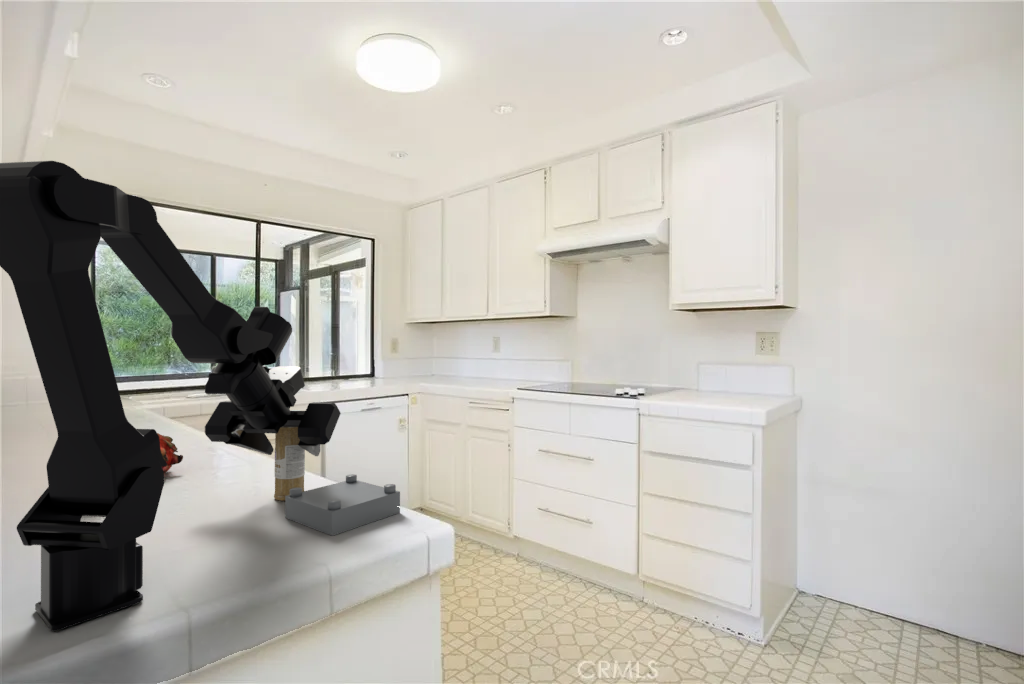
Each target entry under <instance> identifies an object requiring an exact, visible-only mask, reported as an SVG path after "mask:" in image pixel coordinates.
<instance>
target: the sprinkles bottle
mask: <svg viewBox="0 0 1024 684" xmlns="http://www.w3.org/2000/svg"><path fill="white" fill-rule="evenodd" d="M290 411H301V410H298V409H297V410H295V409H294V410H293V409H290ZM274 434H275V436H274V437H275V438H274V440H275V442H274V445H275V446H274V494H273V498H274V499H275V500H277V501H280V502H281V501H285V496H288V495H290V489H292V488H302V492H304V491H305V473H306V472H305V469H306V468H305V465H306V464H305V461H306V450H305V449H303V448H301V447H300V446H298V443H299V441H300V439H299V438H298V427H280V429H279V431H278V433H274Z"/></svg>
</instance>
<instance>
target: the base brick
mask: <svg viewBox="0 0 1024 684" xmlns="http://www.w3.org/2000/svg"><path fill="white" fill-rule="evenodd" d="M357 477H358V476H357V474H351V473H350V474H347V475H345V480H344V481H340V482H335V483H331V484H328V485H325V486H321V487H316V488H311V489H308V490H304V492H302V488H292V489H290V495H288V496H285V502H284V512H285V513H284V514H285V516H284V518H285V519H288V520H290V521H292V522H295V523H298V524H301V525H303V526H306V527H309V528H310V529H314V530H316V531H318V532H321V533H323V534H326V535H330V536H335V535H338V534H339V535H340V534H342V533H344V532H347V531H350V530H353V529H355V528H358V527H361V526H365V525H367V524H371V523H374V522H376V521H379V520H382V519H386V518H389V517H392V516H394V515H397V514H400V513H401V491H399V490H397V489H396V484H394V483H388V484H385V485H383V486H379V485H377V484H374V483H373V484H372V483H369V482H364V481H361V480H358V478H357ZM397 506H400V508H399V507H397Z"/></svg>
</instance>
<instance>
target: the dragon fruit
mask: <svg viewBox="0 0 1024 684" xmlns="http://www.w3.org/2000/svg"><path fill="white" fill-rule="evenodd" d="M157 434H158V436H159V439H160V449H161V453H162V456H163V458H164V460H165V461H166V462H167V466H166V467H162V469H163V472H164V474H167V472H168V471H169V470H170V469H172V467H173V466H174V465H177V464H180V463H182V461H183V460H184V455H183V454H179V455H178V454H176V453H178V452H179V451H178V447H177V446H176V444H175V443H174V442H173V441H174V439H173V438H172V437H171V436H170V435H165V434H163V435H162V434H160V433H158V432H157Z"/></svg>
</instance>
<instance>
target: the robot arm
mask: <svg viewBox="0 0 1024 684" xmlns="http://www.w3.org/2000/svg"><path fill="white" fill-rule="evenodd" d="M101 239H102V240H103V241H104V242H105V243H106V245H107V246H108V247H109V248H110V249H111V250H112V252H114V254H115V255H116V256H117V257H118V259H119V260H120V261H121V262H122V264H123V265H124V266H125V267H126V268H127V269H128V270H129V271H130V273H131V274H132V275H133V277H134V278H136V280H137V282H139V283H140V285H141V286H142V287H143V288H144V289H145V290H146V291H147V292H148V294H149V295H150V296H151V298H152V299H153V300H154V301H155V302H156V303H157V304H158V306H159V307H160V308H161V310H163V311H164V313H165V314H166V315H167V317H168V318H169V321H170V322H171V332H170V333H171V334H170V336H171V338H172V340H173V341H174V342H175V345H176V346H177V348H178V349H179V350H180V353H182V355H183V357H184V359H186V360H187V361H188V362H189V363H193V364H217V365H216V366H215V368H214V369H213V371H212V372H209V373H208V379H207V382H206V383H205V386H204V393H205V394H206V395H225V396H227V398H228V399H229V400H223V401H220V402H219V403H218V404H217V406H216V408H214V411H213V412H212V414H211V416H210V417H209V419H208V420H207V422H206V423H205V425H204V434H205V436H206V437H207V438H208V439H209V440H210V441H211V442H213V443H224V444H225V445H232V446H236V447H238V448H243V449H247V450H251V451H254V452H258V453H261V454H264V455H268V456H271V455H272V454H273V452H274V451H275V448H274V447H273V444H272V442H271V441H270V439H269V438H268V436H267V435H266V434H275V433H278V431H279V429H280V427H298V438H299V439H300V441H299V443H298V446H300V447H301V448H303V449H305V452H307V453H308V454H310V455H312V456H314V457H319V456H320V453H321V445H322V446H323V445H326V444H328V443H330V440H331V439H332V436H333V434H334V432H335V429H336V426H337V423H338V422H339V419H340V416H341V414H342V413H341V411H340V409H339V408H338V406H337V404H336V403H335V402H320V401H319V402H318V401H317V402H309V403H308V405H307V407H306V409H305V410H300V411H290V410H291V409H290V408H291V407H292V408H293V407H294V406H295V404H296V403H297V401H298V400H297V398H296V396H295V395H297V393H299V391H300V390H301V389H303V388H304V387H305V386H306V384H305V379H304V376H303V373H302V368H301V367H300V366H297V365H296V366H293V365H291V366H290V365H289V366H283V365H282V366H281V365H280V366H274V367H270V365H274V364H275V363H277V361H278V359H279V357H280V355H281V353H282V352H283V350H284V348H285V346H286V345H287V343H288V341H289V340H290V337H291V336H292V333H293V327H292V324H291V323H290V321H288V320H287V319H285V318H284V317H283V316H281V315H280V314H277V313H276V312H275V313H274V312H272V311H271V310H270V308H269V307H268V306H254V307H253V308H252V310H251V311H250V314H249V316H248V318H247V320H246V319H245V318H244V317H243V316H242V315H241V314H240V313H239V312H238V310H236V309H235V308H233V307H231V306H230V305H227V304H226V303H224V302H222V301H220V300H218V299H216V298H215V297H214V296H213V295H212V294H211V293H210V291H208V289H207V288H206V286H205V285H204V283H203V282H202V280H201V279H200V278H199V277H198V275H197V274H196V272H195V270H193V268H192V266H191V265H190V264H189V263H188V261H187V260H186V259H185V257H184V256H183V254H182V253H181V252H180V250H179V249H178V248H177V246H176V245H175V244H174V241H172V240H171V238H170V236H169V235H168V234H167V232H166V231H165V230H164V228H163V227H162V226H161V224H160V223H159V222H158V216H157V211H156V210H155V207H154V206H153V205H152V203H151V202H150V201H149V200H147V199H145V198H143V197H140V196H138V195H133V194H128V193H126V192H125V191H123V190H122V189H120V187H117V186H115V185H112V184H109V183H105V182H100V181H97V180H94V179H89V178H87V177H83V176H82V175H81V174H80V172H78V171H77V170H76V169H75V168H73V167H72V166H69V165H67V164H66V163H64V162H60V161H56V160H38V161H35V160H34V161H14V162H0V268H1V269H2V270H4V272H5V273H6V274H7V275H8V276H9V278H10V280H11V281H12V285H13V287H14V290H15V295H16V298H17V301H18V304H19V308H20V311H21V315H22V318H23V322H24V325H25V327H26V331H27V333H28V334H27V335H28V337H29V342H30V344H31V348H32V351H33V354H34V357H35V362H36V365H37V368H38V371H39V374H40V378H41V381H42V384H43V388H44V391H45V394H46V397H47V398H46V399H47V401H48V404H49V409H50V411H51V414H52V418H53V422H54V424H55V429H56V431H57V437H56V441H55V443H54V445H53V447H52V451H51V453H50V455H49V457H48V459H47V460H48V461H47V462H46V476H47V484H48V486H47V488H45V490H44V491H43V493H42V494H41V495H40V497H39V498H38V499H37V500H36V501H35V502H34V504H33V505H32V507H30V508H29V510H28V512H26V513H25V515H24V516H23V518H21V520H20V521H19V522H18V524H17V526H16V531H17V533H18V536H19V537H20V538H19V539H20V540H21V543H22V545H23V546H25V547H26V546H28V547H31V546H40V601H38V602H37V603H35V606H34V607H35V608H34V609H35V611H36V612H37V614H38V615H39V617H40V618H41V620H43V622H44V623H45V624H46V626H47V627H48V628H49V630H50V631H53V632H56V631H60V630H63V629H66V628H69V627H71V626H72V627H73V626H76V625H78V624H80V623H83V622H87V621H90V620H93V619H95V618H98V617H101V616H103V615H107V614H111V613H113V612H116V611H119V610H122V609H125V608H127V607H130V606H131V607H132V606H133V605H136V604H139V603H141V602H143V601H144V595H143V593H141V592H140V591H139V590H141V589H142V587H143V586H144V585H143V581H144V579H143V574H144V573H143V566H144V565H143V562H144V558H143V556H144V555H143V551H144V550H143V549H144V548H143V545H142V544H140V543H139V542H137V538H140V537H142V536H144V535H146V534H149V533H151V531H152V530H153V527H154V523H155V520H156V516H157V515H156V514H157V513H158V512H157V511H158V507H159V506H160V505H159V504H160V500H161V497H162V493H163V490H164V486H165V473H164V472H163V469H162V467H166V466H167V462H166V461H165V460H164V458H163V456H162V453H161V449H160V439H159V436H158V434H157V433H158V432H157V430H156V429H154V428H151V429H150V428H136V427H134V425H133V424H131V423H130V422H129V420H128V419H127V417H126V413H125V411H124V405H123V402H122V398H121V395H120V390H119V387H118V383H117V379H116V375H115V371H114V367H113V363H112V360H111V355H110V351H109V348H108V344H107V341H106V337H105V332H104V329H103V324H102V320H101V317H100V313H99V308H98V305H97V302H96V298H95V293H94V289H93V285H92V282H91V277H90V274H89V272H90V271H89V268H90V265H91V262H92V260H93V257H94V255H95V253H96V251H97V248H98V246H99V243H100V241H101ZM268 366H269V367H268ZM82 517H94V518H95V517H98V518H99V517H101V518H104V519H103V520H102V522H101V521H82Z"/></svg>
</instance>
